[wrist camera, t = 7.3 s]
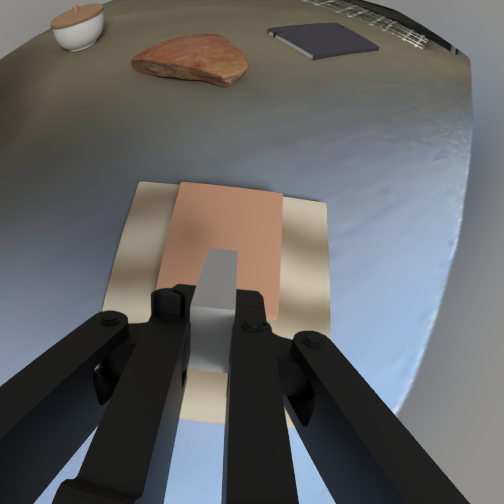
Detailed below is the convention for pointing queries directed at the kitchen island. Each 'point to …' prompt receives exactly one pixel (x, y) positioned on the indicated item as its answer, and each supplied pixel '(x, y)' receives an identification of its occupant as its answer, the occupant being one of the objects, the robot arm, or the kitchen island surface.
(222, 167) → the kitchen island surface
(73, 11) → the lidded jar
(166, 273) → the tile
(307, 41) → the notebook
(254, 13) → the kitchen island surface
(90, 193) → the kitchen island surface
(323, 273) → the board
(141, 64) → the ceramic shard
